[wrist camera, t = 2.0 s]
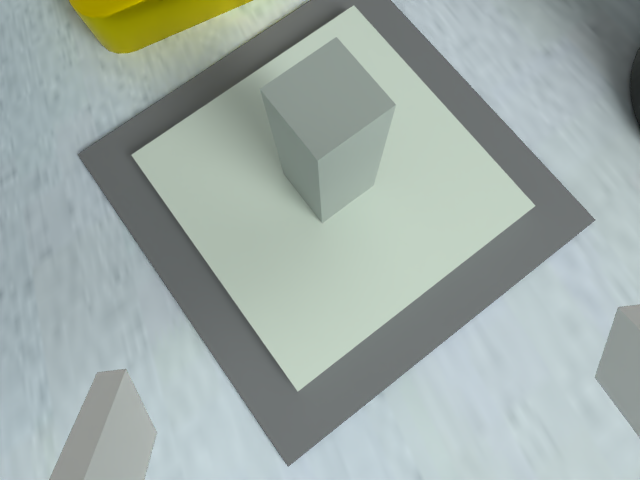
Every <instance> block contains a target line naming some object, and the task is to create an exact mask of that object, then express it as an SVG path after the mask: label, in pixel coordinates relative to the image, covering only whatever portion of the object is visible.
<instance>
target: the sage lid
mask: <svg viewBox="0 0 640 480" xmlns="http://www.w3.org/2000/svg"><path fill="white" fill-rule="evenodd" d="M132 157H133V158H134V160H135V161H136V163H137V164H138V165H139V167H140V168H141V170H142V171H143V173H144V174H145V175H146V177H147V178H148V180H149V181H150V182H151V184H152V185H153V187H154V188H155V190H156V191H157V192H158V194H159V195H160V197H161V198H162V200H163V201H164V202H165V204H166V205H167V207H168V208H169V209H170V211H171V212H172V214H173V215H174V217H175V218H176V219H177V221H178V222H179V224H180V225H181V227H182V228H183V229H184V231H185V232H186V234H187V235H188V236H189V238H190V239H191V241H192V242H193V244H194V245H195V246H196V248H197V249H198V251H199V252H200V253H201V255H202V256H203V258H204V259H205V261H206V262H207V263H208V265H209V266H210V268H211V269H212V271H213V272H214V273H215V275H216V276H217V278H218V279H219V280H220V282H221V283H222V285H223V286H224V288H225V289H226V290H227V292H228V293H229V295H230V296H231V298H232V299H233V300H234V302H235V303H236V305H237V306H238V307H239V309H240V310H241V312H242V313H243V315H244V316H245V317H246V319H247V320H248V322H249V323H250V325H251V326H252V327H253V329H254V330H255V332H256V333H257V334H258V336H259V337H260V339H261V340H262V342H263V343H264V344H265V346H266V347H267V349H268V350H269V352H270V353H271V354H272V356H273V357H274V359H275V360H276V361H277V363H278V364H279V366H280V367H281V369H282V370H283V371H284V373H285V374H286V376H287V377H288V379H289V380H290V381H291V383H292V384H293V386H294V387H295V388H296V390H297V391H299V390H301V389H302V388H303V387H304V386H306V385H307V384H308V383H310V382H311V381H312V380H313V379H315V378H316V377H317V376H318V375H320V374H321V373H322V372H324V371H325V370H326V369H327V368H329V367H330V366H331V365H333V364H334V363H335V362H336V361H338V360H339V359H340V358H342V357H343V356H344V355H345V354H347V353H348V352H349V351H350V350H352V349H353V348H354V347H356V346H357V345H358V344H359V343H361V342H362V341H363V340H365V339H366V338H367V337H368V336H370V335H371V334H372V333H374V332H375V331H376V330H377V329H379V328H380V327H381V326H382V325H384V324H385V323H386V322H388V321H389V320H390V319H391V318H393V317H394V316H395V315H397V314H398V313H399V312H400V311H402V310H403V309H404V308H406V307H407V306H408V305H409V304H411V303H412V302H413V301H414V300H416V299H417V298H418V297H420V296H421V295H422V294H423V293H425V292H426V291H427V290H429V289H430V288H431V287H432V286H434V285H435V284H436V283H437V282H439V281H440V280H441V279H443V278H444V277H445V276H446V275H448V274H449V273H450V272H452V271H453V270H454V269H455V268H457V267H458V266H459V265H461V264H462V263H463V262H464V261H466V260H467V259H468V258H469V257H471V256H472V255H473V254H475V253H476V252H477V251H478V250H480V249H481V248H482V247H484V246H485V245H486V244H487V243H489V242H490V241H491V240H493V239H494V238H495V237H496V236H498V235H499V234H500V233H501V232H503V231H504V230H505V229H507V228H508V227H509V226H510V225H512V224H513V223H514V222H516V221H517V220H518V219H519V218H521V217H522V216H523V215H525V214H526V213H527V212H528V211H530V210H531V209H532V208H533V207H535V205H534V204H533V202H532V201H531V200H530V199H529V198H528V197H527V196H526V195H525V194H524V193H523V191H522V190H521V189H520V188H519V187H518V186H517V185H516V184H515V183H514V181H513V180H512V179H511V178H510V177H509V176H508V175H507V174H506V173H505V172H504V170H503V169H502V168H501V167H500V166H499V165H498V164H497V163H496V162H495V161H494V159H493V158H492V157H491V156H490V155H489V154H488V153H487V152H486V151H485V149H484V148H483V147H482V146H481V145H480V144H479V143H478V142H477V141H476V140H475V138H474V137H473V136H472V135H471V134H470V133H469V132H468V131H467V130H466V129H465V127H464V126H463V125H462V124H461V123H460V122H459V121H458V120H457V119H456V117H455V116H454V115H453V114H452V113H451V112H450V111H449V110H448V109H447V108H446V106H445V105H444V104H443V103H442V102H441V101H440V100H439V99H438V98H437V96H436V95H435V94H434V93H433V92H432V91H431V90H430V89H429V88H428V87H427V85H426V84H425V83H424V82H423V81H422V80H421V79H420V78H419V77H418V76H417V74H416V73H415V72H414V71H413V70H412V69H411V68H410V67H409V66H408V64H407V63H406V62H405V61H404V60H403V59H402V58H401V57H400V56H399V55H398V53H397V52H396V51H395V50H394V49H393V48H392V47H391V46H390V45H389V44H388V42H387V41H386V40H385V39H384V38H383V37H382V36H381V35H380V34H379V32H378V31H377V30H376V29H375V28H374V27H373V26H372V25H371V24H370V23H369V21H368V20H367V19H366V18H365V17H364V16H363V15H362V14H361V13H360V11H359V10H358V9H357V8H356V7H355V6H354V5H353V6H352V7H350V8H349V9H347V10H346V11H344V12H343V13H341V14H340V15H338V16H337V17H336V18H334V19H333V20H331V21H330V22H328V23H327V24H325V25H324V26H322V27H321V28H319V29H318V30H316V31H315V32H313V33H312V34H310V35H309V36H307V37H306V38H304V39H303V40H301V41H300V42H298V43H297V44H295V45H294V46H292V47H291V48H289V49H288V50H286V51H285V52H283V53H282V54H280V55H279V56H278V57H276V58H275V59H273V60H272V61H270V62H269V63H267V64H266V65H264V66H263V67H261V68H260V69H258V70H257V71H255V72H254V73H252V74H251V75H249V76H248V77H246V78H245V79H243V80H242V81H240V82H239V83H237V84H236V85H234V86H233V87H231V88H230V89H228V90H227V91H225V92H224V93H223V94H221V95H220V96H218V97H217V98H215V99H214V100H212V101H211V102H209V103H208V104H206V105H205V106H203V107H202V108H200V109H199V110H197V111H196V112H194V113H193V114H191V115H190V116H188V117H187V118H185V119H184V120H182V121H181V122H179V123H178V124H176V125H175V126H173V127H172V128H170V129H169V130H168V131H166V132H165V133H163V134H162V135H160V136H159V137H157V138H156V139H154V140H153V141H151V142H150V143H148V144H147V145H145V146H144V147H142V148H141V149H139V150H138V151H136V152H135V153H133V154H132Z"/></svg>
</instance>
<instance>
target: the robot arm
mask: <svg viewBox="0 0 640 480" xmlns="http://www.w3.org/2000/svg"><path fill="white" fill-rule="evenodd" d="M631 98H632V103H633V107H634V111H635V114H636V117H637V120H638V122H639V125H640V48H639V50H638V52H637V54H636V57H635V60H634V63H633V67H632V73H631ZM595 379H596V380H597V381H598V383H599V384H600V385H601V387H602V388H603V389H604V391H605V392H606V393H607V395H608V396H609V397H610V399H611V400H612V401H613V403H614V404H615V405H616V407H617V408H618V409H619V411H620V412H621V413H622V415H623V416H624V417H625V419H626V420H627V421H628V423H629V424H630V426H631V427H632V428H633V430H634V431H635V432H636V434H637V435H638V436H639V438H640V305H632V306H624V307H618V309H617V312H616V315H615V318H614V321H613V324H612V327H611V330H610V333H609V336H608V339H607V342H606V345H605V348H604V351H603V354H602V357H601V360H600V363H599V366H598V369H597V372H596V375H595ZM156 434H157V432H156V430H155V428H154V425H153V423H152V421H151V419H150V417H149V415H148V413H147V411H146V409H145V407H144V405H143V403H142V401H141V399H140V397H139V394H138V392H137V390H136V388H135V386H134V384H133V382H132V380H131V378H130V376H129V374H128V372H127V370H126V369H121V370H113V371H105V372H97V374H96V376H95V378H94V381H93V383H92V385H91V387H90V390H89V392H88V394H87V396H86V399H85V401H84V403H83V405H82V407H81V410H80V412H79V414H78V416H77V419H76V421H75V423H74V425H73V428H72V430H71V432H70V434H69V436H68V439H67V441H66V443H65V445H64V448H63V450H62V452H61V454H60V457H59V459H58V461H57V463H56V465H55V468H54V470H53V472H52V474H51V477H50V479H49V480H145V476H146V472H147V468H148V464H149V461H150V457H151V453H152V449H153V446H154V442H155V438H156Z"/></svg>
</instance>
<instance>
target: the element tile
mask: <svg viewBox="0 0 640 480" xmlns="http://www.w3.org/2000/svg"><path fill="white" fill-rule="evenodd" d="M250 1H253V0H69V2H70V4H71V5H72V7H73V8H74V10H75V11H76V12H77V14H78V15H79V16H80V17H81V19H82V20H83V21H84V23H85V24H86V25H87V26H88V28H89V29H90V30H91V32H92V33H93V34H94V35H95V37H96V38H97V39H98V41H99V42H100V43H101V44H102V45H103V46H104V47H105V48H106V49H107V50H109V51H111V52H114V53H118V54H119V53H130V52H133V51H137V50H139V49H142V48H144V47H146V46H149V45H151V44H153V43H155V42H158V41H160V40H162V39H165V38H167V37H169V36H172V35H174V34H176V33H179V32H181V31H183V30H186V29H188V28H190V27H193V26H195V25H197V24H199V23H202V22H204V21H206V20H209V19H211V18H213V17H216V16H218V15H220V14H223V13H225V12H227V11H230V10H232V9H234V8H237V7H239V6H241V5H243V4H246V3H248V2H250Z"/></svg>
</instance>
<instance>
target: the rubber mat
mask: <svg viewBox="0 0 640 480" xmlns="http://www.w3.org/2000/svg"><path fill="white" fill-rule="evenodd" d="M353 5H354V6H355V7H356V8H357V9H358V10H359V11H360V13H361V14H362V15H363V16H364V17H365V18H366V19H367V20H368V21H369V23H370V24H371V25H372V26H373V27H374V28H375V29H376V30H377V31H378V32H379V34H380V35H381V36H382V37H383V38H384V39H385V40H386V41H387V42H388V44H389V45H390V46H391V47H392V48H393V49H394V50H395V51H396V52H397V53H398V55H399V56H400V57H401V58H402V59H403V60H404V61H405V62H406V63H407V64H408V66H409V67H410V68H411V69H412V70H413V71H414V72H415V73H416V74H417V76H418V77H419V78H420V79H421V80H422V81H423V82H424V83H425V84H426V85H427V87H428V88H429V89H430V90H431V91H432V92H433V93H434V94H435V95H436V96H437V98H438V99H439V100H440V101H441V102H442V103H443V104H444V105H445V106H446V108H447V109H448V110H449V111H450V112H451V113H452V114H453V115H454V116H455V117H456V119H457V120H458V121H459V122H460V123H461V124H462V125H463V126H464V127H465V129H466V130H467V131H468V132H469V133H470V134H471V135H472V136H473V137H474V138H475V140H476V141H477V142H478V143H479V144H480V145H481V146H482V147H483V148H484V149H485V151H486V152H487V153H488V154H489V155H490V156H491V157H492V158H493V159H494V161H495V162H496V163H497V164H498V165H499V166H500V167H501V168H502V169H503V170H504V172H505V173H506V174H507V175H508V176H509V177H510V178H511V179H512V180H513V181H514V183H515V184H516V185H517V186H518V187H519V188H520V189H521V190H522V191H523V193H524V194H525V195H526V196H527V197H528V198H529V199H530V200H531V201H532V202H533V204H534V205H535V207H533V208H532V209H531V210H530V211H528V212H527V213H526V214H525V215H523V216H522V217H521V218H519V219H518V220H517V221H516V222H514V223H513V224H512V225H510V226H509V227H508V228H507V229H505V230H504V231H503V232H501V233H500V234H499V235H498V236H496V237H495V238H494V239H493V240H491V241H490V242H489V243H487V244H486V245H485V246H484V247H482V248H481V249H480V250H478V251H477V252H476V253H475V254H473V255H472V256H471V257H469V258H468V259H467V260H466V261H464V262H463V263H462V264H461V265H459V266H458V267H457V268H455V269H454V270H453V271H452V272H450V273H449V274H448V275H446V276H445V277H444V278H443V279H441V280H440V281H439V282H437V283H436V284H435V285H434V286H432V287H431V288H430V289H429V290H427V291H426V292H425V293H423V294H422V295H421V296H420V297H418V298H417V299H416V300H414V301H413V302H412V303H411V304H409V305H408V306H407V307H406V308H404V309H403V310H402V311H400V312H399V313H398V314H397V315H395V316H394V317H393V318H391V319H390V320H389V321H388V322H386V323H385V324H384V325H382V326H381V327H380V328H379V329H377V330H376V331H375V332H374V333H372V334H371V335H370V336H368V337H367V338H366V339H365V340H363V341H362V342H361V343H359V344H358V345H357V346H356V347H354V348H353V349H352V350H350V351H349V352H348V353H347V354H345V355H344V356H343V357H342V358H340V359H339V360H338V361H336V362H335V363H334V364H333V365H331V366H330V367H329V368H327V369H326V370H325V371H324V372H322V373H321V374H320V375H318V376H317V377H316V378H315V379H313V380H312V381H311V382H310V383H308V384H307V385H306V386H304V387H303V388H302V389H301V390H299V391H297V390H296V388H295V387H294V386H293V384H292V383H291V381H290V380H289V379H288V377H287V376H286V374H285V373H284V371H283V370H282V369H281V367H280V366H279V364H278V363H277V361H276V360H275V359H274V357H273V356H272V354H271V353H270V352H269V350H268V349H267V347H266V346H265V344H264V343H263V342H262V340H261V339H260V337H259V336H258V334H257V333H256V332H255V330H254V329H253V327H252V326H251V325H250V323H249V322H248V320H247V319H246V317H245V316H244V315H243V313H242V312H241V310H240V309H239V307H238V306H237V305H236V303H235V302H234V300H233V299H232V298H231V296H230V295H229V293H228V292H227V290H226V289H225V288H224V286H223V285H222V283H221V282H220V280H219V279H218V278H217V276H216V275H215V273H214V272H213V271H212V269H211V268H210V266H209V265H208V263H207V262H206V261H205V259H204V258H203V256H202V255H201V253H200V252H199V251H198V249H197V248H196V246H195V245H194V244H193V242H192V241H191V239H190V238H189V236H188V235H187V234H186V232H185V231H184V229H183V228H182V227H181V225H180V224H179V222H178V221H177V219H176V218H175V217H174V215H173V214H172V212H171V211H170V209H169V208H168V207H167V205H166V204H165V202H164V201H163V200H162V198H161V197H160V195H159V194H158V192H157V191H156V190H155V188H154V187H153V185H152V184H151V182H150V181H149V180H148V178H147V177H146V175H145V174H144V173H143V171H142V170H141V168H140V167H139V165H138V164H137V163H136V161H135V160H134V158H133V157H132V154H133V153H135V152H136V151H138V150H139V149H141V148H142V147H144V146H145V145H147V144H148V143H150V142H151V141H153V140H154V139H156V138H157V137H159V136H160V135H162V134H163V133H165V132H166V131H168V130H169V129H170V128H172V127H173V126H175V125H176V124H178V123H179V122H181V121H182V120H184V119H185V118H187V117H188V116H190V115H191V114H193V113H194V112H196V111H197V110H199V109H200V108H202V107H203V106H205V105H206V104H208V103H209V102H211V101H212V100H214V99H215V98H217V97H218V96H220V95H221V94H223V93H224V92H225V91H227V90H228V89H230V88H231V87H233V86H234V85H236V84H237V83H239V82H240V81H242V80H243V79H245V78H246V77H248V76H249V75H251V74H252V73H254V72H255V71H257V70H258V69H260V68H261V67H263V66H264V65H266V64H267V63H269V62H270V61H272V60H273V59H275V58H276V57H278V56H279V55H280V54H282V53H283V52H285V51H286V50H288V49H289V48H291V47H292V46H294V45H295V44H297V43H298V42H300V41H301V40H303V39H304V38H306V37H307V36H309V35H310V34H312V33H313V32H315V31H316V30H318V29H319V28H321V27H322V26H324V25H325V24H327V23H328V22H330V21H331V20H333V19H334V18H336V17H337V16H338V15H340V14H341V13H343V12H344V11H346V10H347V9H349V8H350V7H352V6H353ZM78 156H79V157H80V159H81V160H82V162H83V163H84V165H85V166H86V168H87V169H88V171H89V172H90V174H91V175H92V177H93V178H94V179H95V181H96V182H97V184H98V185H99V187H100V188H101V190H102V191H103V193H104V194H105V196H106V197H107V199H108V200H109V202H110V203H111V205H112V206H113V208H114V209H115V211H116V212H117V214H118V215H119V217H120V218H121V220H122V221H123V222H124V224H125V225H126V227H127V228H128V230H129V231H130V233H131V234H132V236H133V237H134V239H135V240H136V242H137V243H138V245H139V246H140V248H141V249H142V251H143V252H144V254H145V255H146V257H147V258H148V260H149V261H150V263H151V264H152V266H153V267H154V268H155V270H156V271H157V273H158V274H159V276H160V277H161V279H162V280H163V282H164V283H165V285H166V286H167V288H168V289H169V291H170V292H171V294H172V295H173V297H174V298H175V300H176V301H177V303H178V304H179V306H180V307H181V309H182V310H183V312H184V313H185V314H186V316H187V317H188V319H189V320H190V322H191V323H192V325H193V326H194V328H195V329H196V331H197V332H198V334H199V335H200V337H201V338H202V340H203V341H204V343H205V344H206V346H207V347H208V349H209V350H210V352H211V353H212V355H213V356H214V358H215V359H216V360H217V362H218V363H219V365H220V366H221V368H222V369H223V371H224V372H225V374H226V375H227V377H228V378H229V380H230V381H231V383H232V384H233V386H234V387H235V389H236V390H237V392H238V393H239V395H240V396H241V398H242V399H243V401H244V402H245V403H246V405H247V406H248V408H249V409H250V411H251V412H252V414H253V415H254V417H255V418H256V420H257V421H258V423H259V424H260V426H261V427H262V429H263V430H264V432H265V433H266V435H267V436H268V438H269V439H270V441H271V442H272V444H273V445H274V447H275V448H276V449H277V451H278V452H279V454H280V455H281V457H282V458H283V460H284V461H285V463H286V464H287V466H290V465H291V464H292V463H293V462H295V461H296V460H297V459H298V458H299V457H301V456H302V455H303V454H304V453H306V452H307V451H308V450H309V449H311V448H312V447H313V446H314V445H316V444H317V443H318V442H319V441H321V440H322V439H323V438H324V437H326V436H327V435H328V434H329V433H331V432H332V431H333V430H334V429H336V428H337V427H338V426H339V425H341V424H342V423H343V422H344V421H346V420H347V419H348V418H349V417H351V416H352V415H353V414H354V413H356V412H357V411H358V410H359V409H361V408H362V407H363V406H364V405H366V404H367V403H368V402H369V401H371V400H372V399H373V398H374V397H376V396H377V395H378V394H379V393H380V392H382V391H383V390H384V389H385V388H387V387H388V386H389V385H390V384H392V383H393V382H394V381H395V380H397V379H398V378H399V377H400V376H402V375H403V374H404V373H405V372H407V371H408V370H409V369H410V368H412V367H413V366H414V365H415V364H417V363H418V362H419V361H420V360H422V359H423V358H424V357H425V356H427V355H428V354H429V353H430V352H432V351H433V350H434V349H435V348H437V347H438V346H439V345H440V344H442V343H443V342H444V341H445V340H447V339H448V338H449V337H450V336H452V335H453V334H454V333H455V332H457V331H458V330H459V329H460V328H461V327H463V326H464V325H465V324H466V323H468V322H469V321H470V320H471V319H473V318H474V317H475V316H476V315H478V314H479V313H480V312H481V311H483V310H484V309H485V308H486V307H488V306H489V305H490V304H491V303H493V302H494V301H495V300H496V299H498V298H499V297H500V296H501V295H503V294H504V293H505V292H506V291H508V290H509V289H510V288H511V287H513V286H514V285H515V284H516V283H518V282H519V281H520V280H521V279H523V278H524V277H525V276H526V275H528V274H529V273H530V272H531V271H533V270H534V269H535V268H536V267H538V266H539V265H540V264H541V263H542V262H544V261H545V260H546V259H547V258H549V257H550V256H551V255H552V254H554V253H555V252H556V251H557V250H559V249H560V248H561V247H562V246H564V245H565V244H566V243H567V242H569V241H570V240H571V239H572V238H574V237H575V236H576V235H577V234H579V233H580V232H581V231H582V230H584V229H585V228H586V227H587V226H589V225H590V224H591V223H592V222H594V221H595V219H594V218H593V217H592V216H591V215H590V214H589V213H588V211H587V210H586V209H585V208H584V207H583V206H582V205H581V204H580V203H579V202H578V201H577V200H576V199H575V198H574V196H573V195H572V194H571V193H570V192H569V191H568V190H567V189H566V188H565V187H564V186H563V185H562V184H561V182H560V181H559V180H558V179H557V178H556V177H555V176H554V175H553V174H552V173H551V172H550V171H549V170H548V169H547V167H546V166H545V165H544V164H543V163H542V162H541V161H540V160H539V159H538V158H537V157H536V156H535V155H534V154H533V152H532V151H531V150H530V149H529V148H528V147H527V146H526V145H525V144H524V143H523V142H522V141H521V140H520V138H519V137H518V136H517V135H516V134H515V133H514V132H513V131H512V130H511V129H510V128H509V127H508V126H507V125H506V123H505V122H504V121H503V120H502V119H501V118H500V117H499V116H498V115H497V114H496V113H495V112H494V111H493V109H492V108H491V107H490V106H489V105H488V104H487V103H486V102H485V101H484V100H483V99H482V98H481V97H480V96H479V94H478V93H477V92H476V91H475V90H474V89H473V88H472V87H471V86H470V85H469V84H468V83H467V82H466V81H465V79H464V78H463V77H462V76H461V75H460V74H459V73H458V72H457V71H456V70H455V69H454V68H453V67H452V65H451V64H450V63H449V62H448V61H447V60H446V59H445V58H444V57H443V56H442V55H441V54H440V53H439V52H438V50H437V49H436V48H435V47H434V46H433V45H432V44H431V43H430V42H429V41H428V40H427V39H426V38H425V36H424V35H423V34H422V33H421V32H420V31H419V30H418V29H417V28H416V27H415V26H414V25H413V24H412V23H411V21H410V20H409V19H408V18H407V17H406V16H405V15H404V14H403V13H402V12H401V11H400V10H399V9H398V7H397V6H396V5H395V4H394V3H393V2H392V1H391V0H310V1H309V2H307V3H306V4H304V5H303V6H301V7H300V8H298V9H297V10H295V11H294V12H292V13H291V14H289V15H288V16H286V17H285V18H283V19H282V20H280V21H278V22H277V23H275V24H274V25H272V26H271V27H269V28H268V29H266V30H265V31H263V32H262V33H260V34H259V35H257V36H256V37H254V38H253V39H251V40H250V41H248V42H247V43H245V44H244V45H242V46H241V47H239V48H238V49H236V50H235V51H233V52H232V53H230V54H229V55H227V56H226V57H224V58H223V59H221V60H220V61H218V62H217V63H215V64H214V65H212V66H211V67H209V68H207V69H206V70H204V71H203V72H201V73H200V74H198V75H197V76H195V77H194V78H192V79H191V80H189V81H188V82H186V83H185V84H183V85H182V86H180V87H179V88H177V89H176V90H174V91H173V92H171V93H170V94H168V95H167V96H165V97H164V98H162V99H161V100H159V101H158V102H156V103H155V104H153V105H152V106H150V107H149V108H147V109H146V110H144V111H143V112H141V113H140V114H138V115H136V116H135V117H133V118H132V119H130V120H129V121H127V122H126V123H124V124H123V125H121V126H120V127H118V128H117V129H115V130H114V131H112V132H111V133H109V134H108V135H106V136H105V137H103V138H102V139H100V140H99V141H97V142H96V143H94V144H93V145H91V146H90V147H88V148H87V149H85V150H84V151H82V152H81V153H79V154H78Z"/></svg>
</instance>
